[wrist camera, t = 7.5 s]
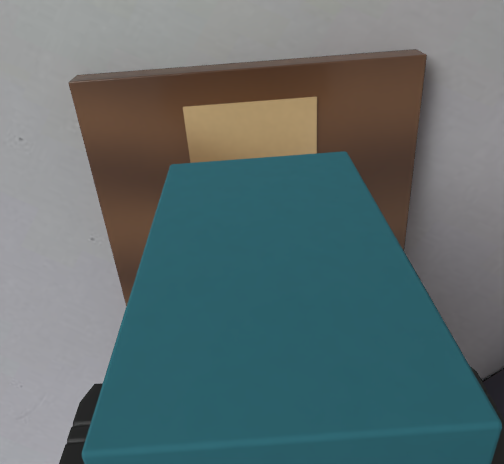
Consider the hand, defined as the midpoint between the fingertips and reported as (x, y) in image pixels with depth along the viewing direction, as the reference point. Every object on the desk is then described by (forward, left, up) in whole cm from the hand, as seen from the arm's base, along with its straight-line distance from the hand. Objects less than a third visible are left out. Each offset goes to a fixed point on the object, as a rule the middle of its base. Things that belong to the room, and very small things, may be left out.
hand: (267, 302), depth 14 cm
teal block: (0, 0, -1) cm, 1 cm away
